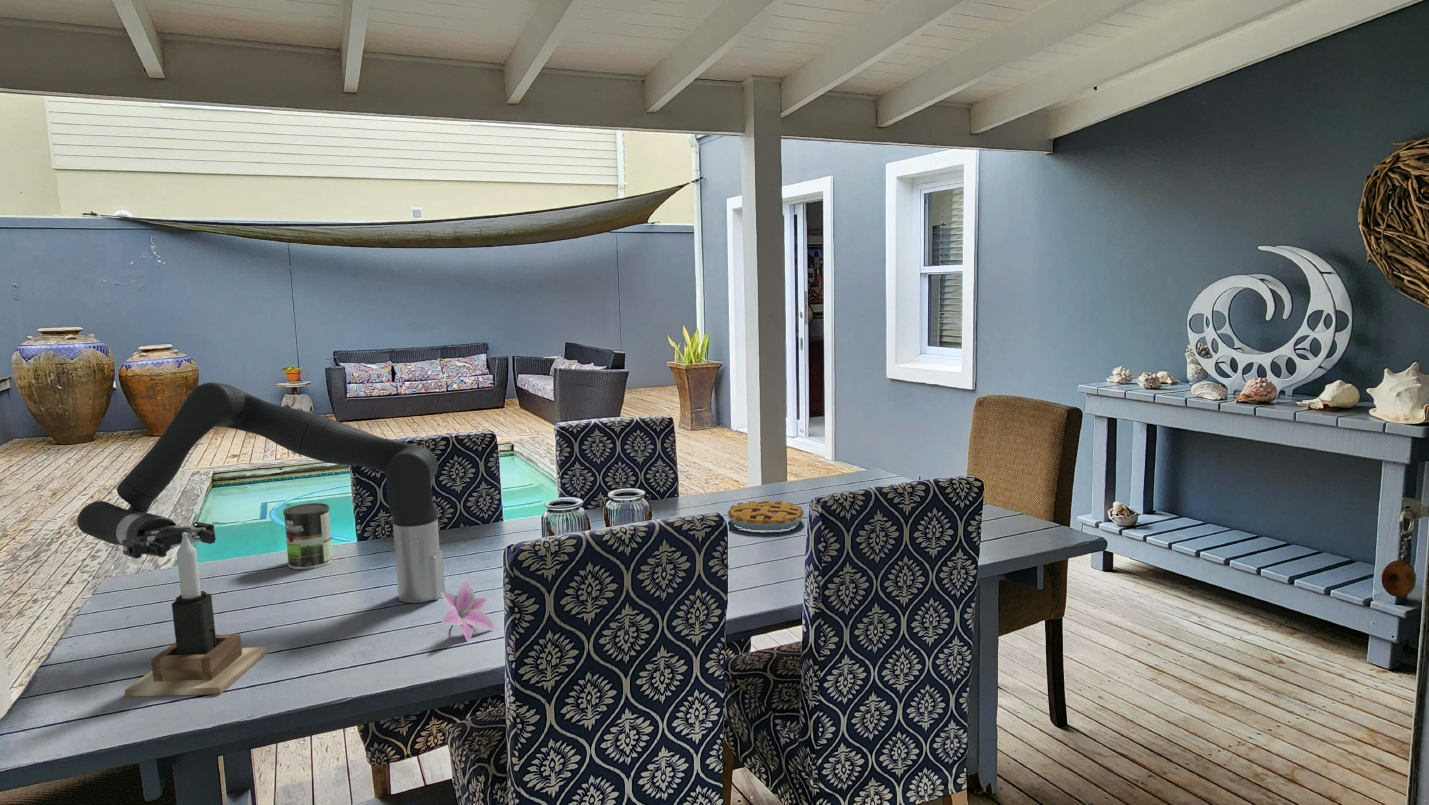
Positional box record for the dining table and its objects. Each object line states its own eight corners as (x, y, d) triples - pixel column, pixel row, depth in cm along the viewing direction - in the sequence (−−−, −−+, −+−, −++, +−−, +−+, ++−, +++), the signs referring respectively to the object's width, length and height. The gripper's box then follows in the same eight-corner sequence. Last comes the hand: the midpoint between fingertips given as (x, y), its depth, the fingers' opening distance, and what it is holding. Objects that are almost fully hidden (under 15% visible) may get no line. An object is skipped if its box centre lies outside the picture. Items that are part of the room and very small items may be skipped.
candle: (191, 661, 155) (177, 528, 152) (220, 660, 156) (206, 527, 152) (176, 674, 150) (161, 537, 147) (206, 672, 151) (192, 536, 147)
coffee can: (306, 572, 206) (301, 515, 204) (279, 566, 211) (273, 511, 209) (342, 559, 215) (338, 505, 213) (315, 554, 220) (310, 501, 218)
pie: (721, 534, 231) (721, 516, 231) (732, 512, 253) (732, 496, 252) (802, 537, 228) (802, 519, 227) (806, 515, 250) (806, 498, 249)
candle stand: (267, 653, 161) (264, 627, 160) (220, 694, 145) (217, 665, 144) (181, 655, 161) (178, 629, 160) (125, 696, 145) (121, 667, 144)
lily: (432, 654, 162) (451, 615, 159) (418, 613, 170) (436, 574, 168) (490, 655, 170) (509, 617, 167) (473, 615, 178) (491, 579, 176)
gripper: (102, 524, 160) (143, 535, 151) (183, 505, 172) (225, 515, 163) (108, 562, 161) (149, 576, 152) (187, 541, 173) (230, 552, 164)
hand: (188, 544), depth 157 cm, fingers open, 8 cm apart
